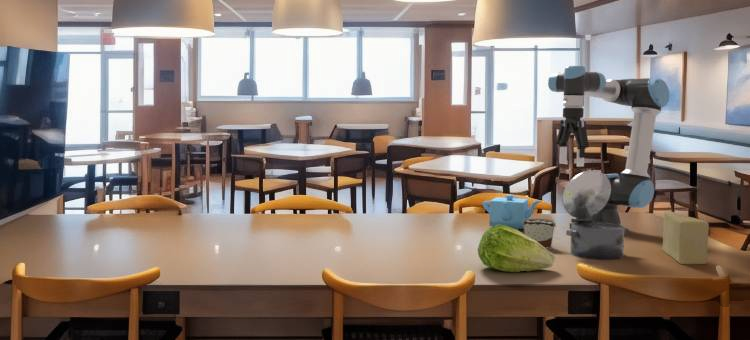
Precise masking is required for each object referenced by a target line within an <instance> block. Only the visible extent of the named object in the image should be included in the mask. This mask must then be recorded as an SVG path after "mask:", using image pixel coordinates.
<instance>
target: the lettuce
mask: <svg viewBox="0 0 750 340" xmlns="http://www.w3.org/2000/svg"><path fill="white" fill-rule="evenodd" d="M518 230H519V229H518ZM518 230H516V229H513V228H511V227H508V226H506V225H501V224H498V225H496V226H490V227H489V228H487V229H486V230H485V231H484V232H483V233H482V236H481V238H480V241H479V244H478V246H477V253H478V258H479V260H480V261H481V262H482V265H484V266H485V267H488V268H491V269H494V270H498V271H501V272H506V273H507V272H510V273H511V272H512V273H521V272H520V271H527V272H532V271H538V270H544V269H549V268H552V267H553V266H554V264H555V262H556V255H555V254H554V253H552V252H551V251H550V250H548V248H544V247H543V246H542V245H541V244H539V243H538V242H537V241H535V240H533V239H531V238H529V237H527V236H526V235H525V234H524V232H521V231H520V230H519V231H518Z"/></svg>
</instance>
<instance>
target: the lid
mask: <svg viewBox="0 0 750 340" xmlns="http://www.w3.org/2000/svg"><path fill="white" fill-rule="evenodd" d="M604 174H605V173H603V172H601V171H599V170H593V169H590V170H585V171H582V172H580V173H578V174H576V175H575V176H573V177H572V178H571V179H570V180H569V181H568V182H567V184H566V186H565V188H564V190H563V192H562V193H563V194H562V197H561V198H562V199H561V200H562V202H561V203H562V207H563V209H564V210H565V212H566V213H567V214H568V215H569V216H571V217H573V218H571V219H570V220H571V221H570V223H578V222H592V221H593V219H592V218H588V217H591V216H593V215H595V214H597V213H598V212H599V211H600V210H602V209H603V207H604V206H605V205H606V203H607V202H608V200H609V197H610V194H611V184H610V181H609V179H608V178H607V177H606V176H605V175H604Z"/></svg>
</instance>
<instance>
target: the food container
mask: <svg viewBox="0 0 750 340" xmlns="http://www.w3.org/2000/svg"><path fill="white" fill-rule="evenodd" d="M522 225H524V228H523V234H524V235H526V236H527V237H529V238H531V239H533V240H535V241H537V242H538V243H539V244H541V245H542V246H543V247H548V248H547V249H552V244H553V237H554V230H555V229H554V228H556V227H557V226H556V222H555V220H552V219H549V218H540V217H539V218H537V217H536V218H535V217H534V218H533V217H532V218H531V217H530V218H528V219H524V221H523V223H522Z"/></svg>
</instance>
